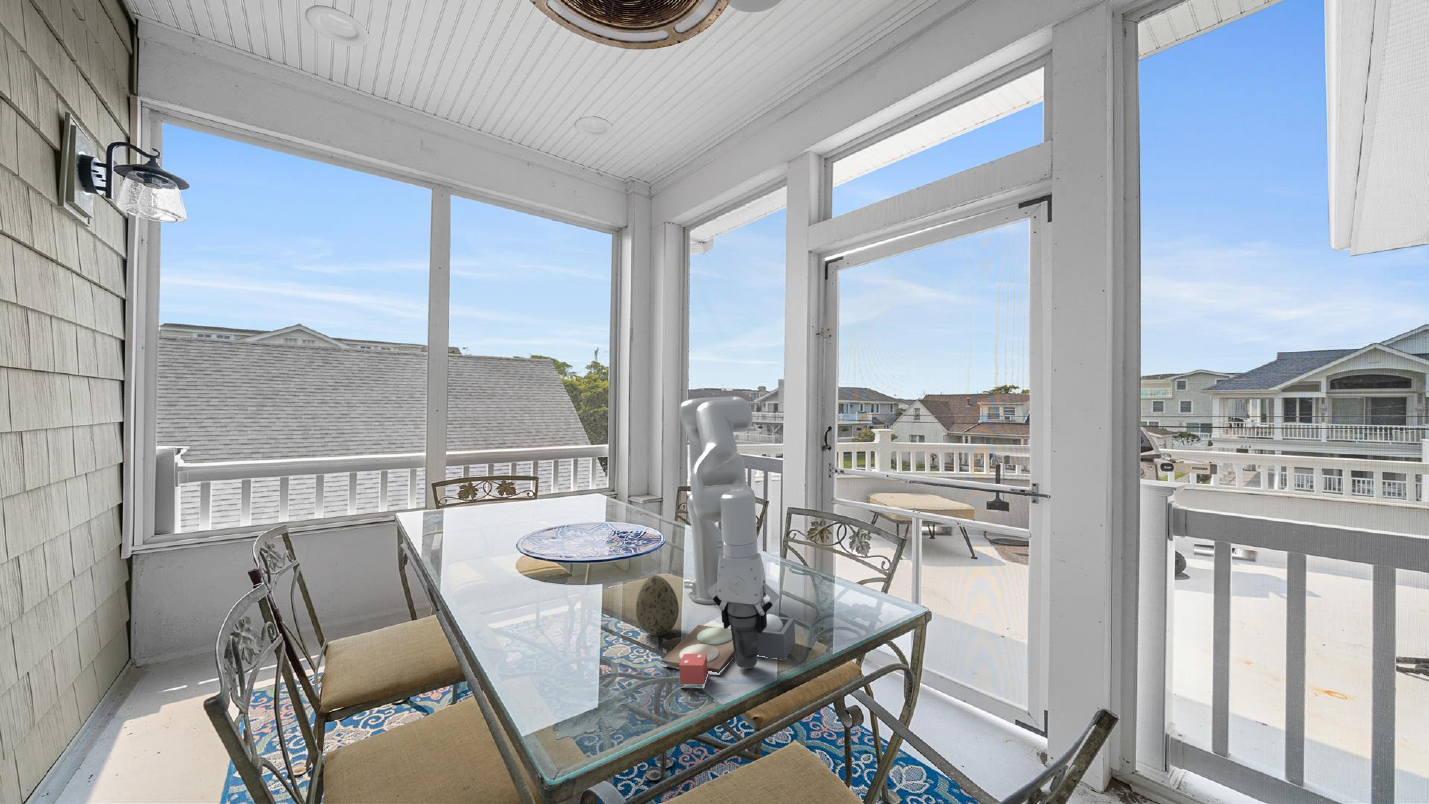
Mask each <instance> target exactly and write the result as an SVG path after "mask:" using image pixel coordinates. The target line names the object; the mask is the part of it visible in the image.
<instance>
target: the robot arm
mask: <svg viewBox="0 0 1429 804" xmlns="http://www.w3.org/2000/svg"><path fill="white" fill-rule="evenodd" d="M679 415H680V416H679V417H680V422H681V423H682V426H683V429H684V430H685V432H686V435H687V439H688V443H689V445H688V448H689V463H690V464H689V465H690V467H689V468H690V481H689V484H690V485H689V486H690V495H689V496H687V497H688V498H687V501H686V506H687V507H686V508H687V513H688V517H689V522H690V526H691V527H690V528H691V529H690V530H691V538H692V540H691V541H692V553H693V566H694V567H693V568H694V580H693V579H684V582H683V586H684V589H691V592H690V599H691V600H692V601H693V602H695V603H698V604H703V605H704V604H705V605H713V604H715V605H717V606H718V609H719V610H720V611H721V623H722V624H723V628H724V629H729V627H731V625H730V622H729V618H728V614H727V611H728V604H729V602H730V603H740V604H747V605H755V607H756V608H757V610H758V612H759V614H758V615H757V628H758V633H762V632H763V630H764V629H765V628H766V627H767V612H768V611H769V610H770V609H772V607H774V605H775V603H776V602H777V601H778V599H779V598H780V595H779V594H778V593H777V592H776V591H775V590H774V589H772V587H771V586H769V584H768V583H767V581H766V571H765V567H764V563H763V558H762V555H761V553H760V552H758V551H759V550H758V534H757V533H758V532H757V531H758V530H757V516H756V515H757V513H756V504H757V503H756V493H755V491H754V489H752V487H751V486H750V485H749V484H747V479H746V478H747V475H746V473H747V472H746V465H745V460H744V458H743V456H742V455H741V454H740V453H739V452H737V451H738V445H737V443H736V439H735V435H734V432H741V431H742V432H744V431H748V430H750V429H751V428H752V425H753V421H754V420H753V419H754V417H753V411H752V409H751V406H750V404H749V402H748V401H747V400H746V399H745V398H743V397H740V396H738V395H737V396H734V395H732V396H717V397H716V396H715V397H698V398H690V399H687V400H685V401H682V402H681V404H680V406H679ZM716 523H721V529H720V528H719V527H718V526H717V525H716ZM765 597H768V598H769V600H768V601H767V602H766V601H765V599H764V598H765Z"/></svg>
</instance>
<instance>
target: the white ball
mask: <svg viewBox="0 0 1429 804" xmlns="http://www.w3.org/2000/svg"><path fill="white" fill-rule="evenodd" d="M766 614H767V613H766ZM778 617H779V616H778V615H775V614H773V613H772V614H771V613H769V614H767V627H766V628H765V629H764V630H768V631H776V632H781V630H782V629H783V624H782V621H781V620H780V619H779V618H778Z"/></svg>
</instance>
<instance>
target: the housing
mask: <svg viewBox="0 0 1429 804" xmlns="http://www.w3.org/2000/svg"><path fill="white" fill-rule="evenodd" d="M777 617H778V618H779V619H780V620H781V621H782V624H783V629H782V630H781V632H776V631H768V630H763V632H762V633H758V646H757V655H759V656H765V657H768V658H767V659H769V658H777V659H782V660H781V661H783V660H785V661H786V659H787V658H788V656H789V655H790V653H789V652H791V651H792V650H793V648H794V646H795V645H796V629H795V628H796V627H795V618H793V617H783V616H777ZM791 649H792V650H791ZM788 654H789V655H788ZM787 655H788V656H787ZM786 657H787V658H786ZM785 658H786V659H785Z"/></svg>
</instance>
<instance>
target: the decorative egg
mask: <svg viewBox="0 0 1429 804" xmlns="http://www.w3.org/2000/svg"><path fill="white" fill-rule="evenodd" d="M679 608H680V607H679V602H678V598H677V595H676V593H675V590H674V588H673V587H672V586H671V584H670V583H669V582H668V580H667V579H666V578H664V577H662V576H660V575H657V574H656V575H651V576H649V577H648V578H647V579H646V580H645V581H644V582H643V584H642V585H641V587H640V589H639V592H638V595H637V598H636V605H635V612H636V613H635V614H636V619H637V622H638V623H639V625H640V627H641V628H642V630H644V631H645V632H646V633H648V634H649V635H652V636H659V637H660V636H663V635H665V634H668V633H669V632H671V630H672V629H673V628H674V626H675V625H676V623H677V621H678V618H679V612H680V609H679Z"/></svg>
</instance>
